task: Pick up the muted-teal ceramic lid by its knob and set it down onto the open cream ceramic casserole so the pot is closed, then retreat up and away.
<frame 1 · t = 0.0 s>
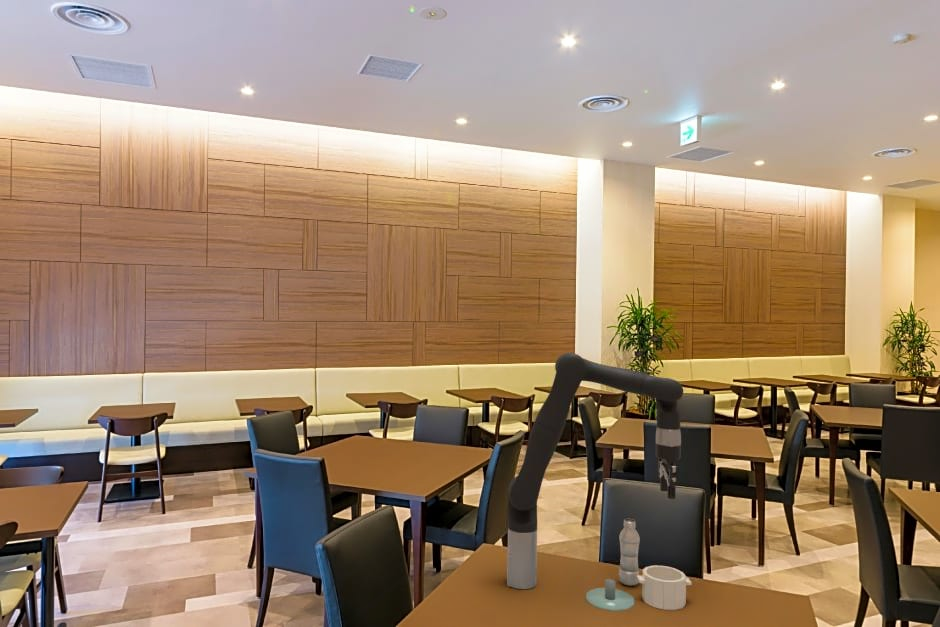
hand: (667, 494, 190), 29 cm above the table, fingers open, 8 cm apart
pot: (663, 600, 182), on the table
lid: (610, 601, 182), on the table
plastic bottle: (628, 584, 193), on the table
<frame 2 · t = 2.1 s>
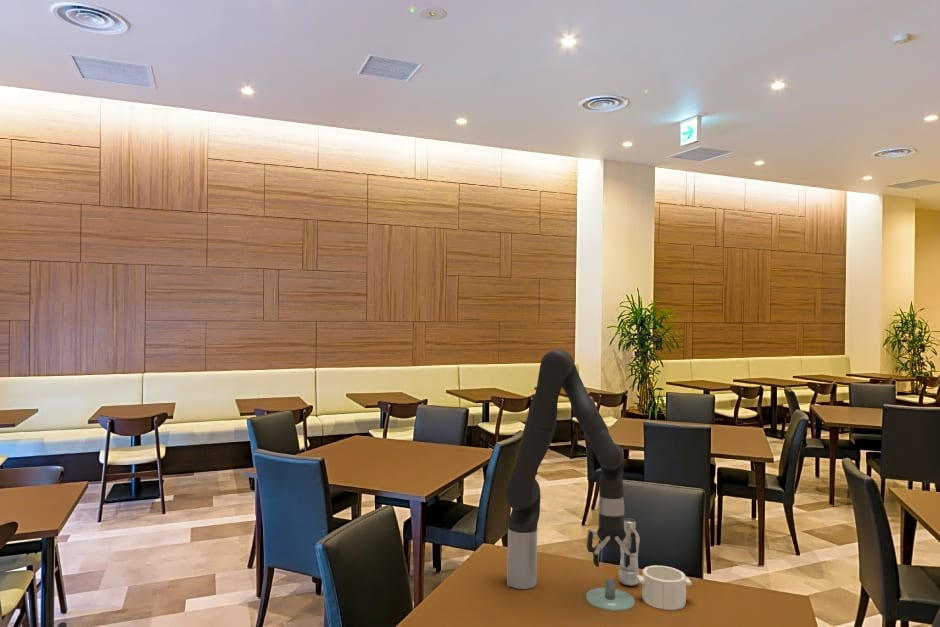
hand: (611, 566, 182), 10 cm above the table, fingers open, 8 cm apart
nothing on the table moved.
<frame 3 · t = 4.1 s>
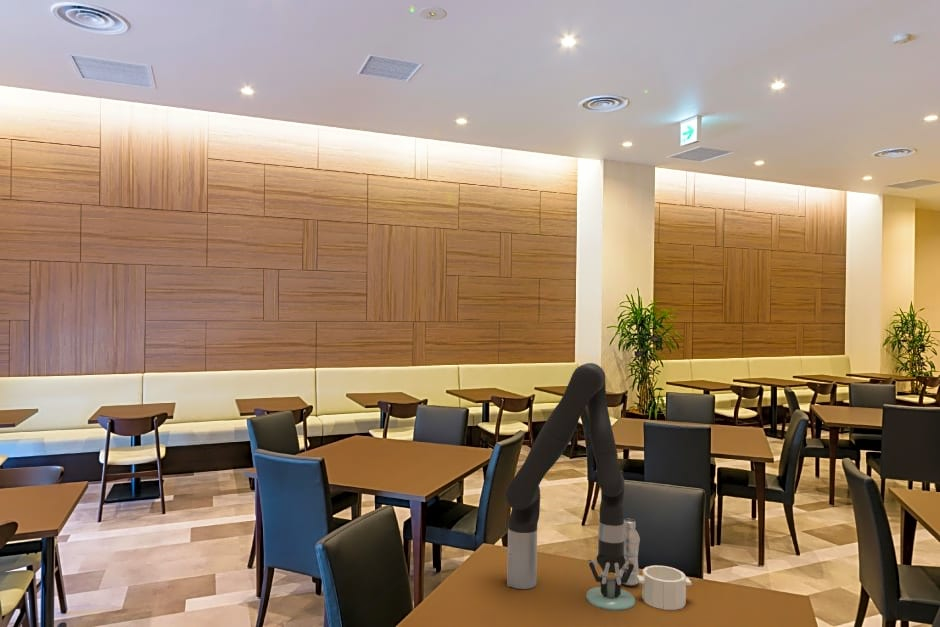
hand: (610, 595, 182), 1 cm above the table, fingers closed on lid, 3 cm apart
lid: (610, 599, 182), on the table, touching gripper
everything else where it was.
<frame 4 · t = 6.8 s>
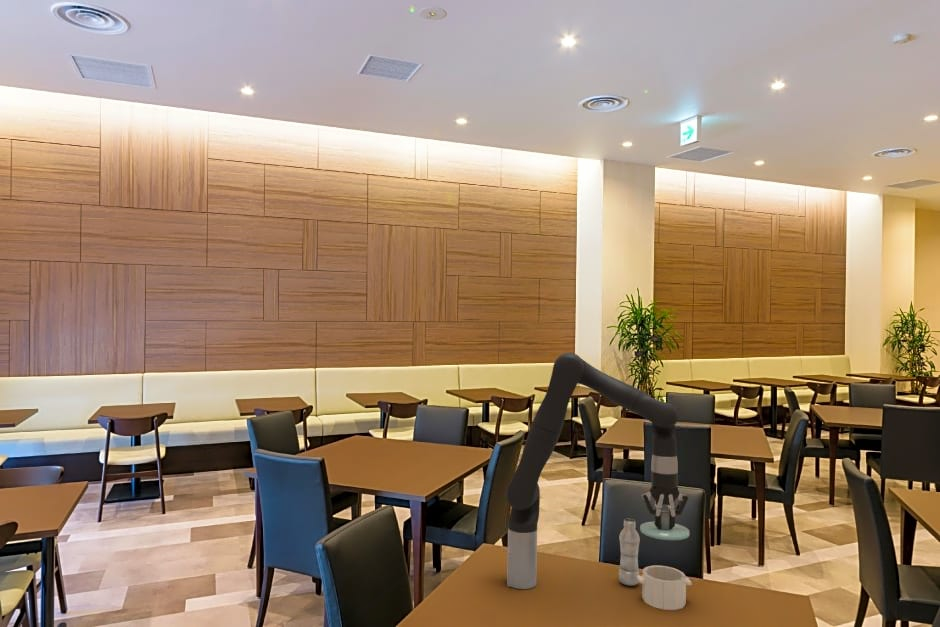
hand: (664, 527, 182), 22 cm above the table, fingers closed on lid, 3 cm apart
lid: (664, 532, 182), point 20 cm above the table, touching gripper
everything else where it was.
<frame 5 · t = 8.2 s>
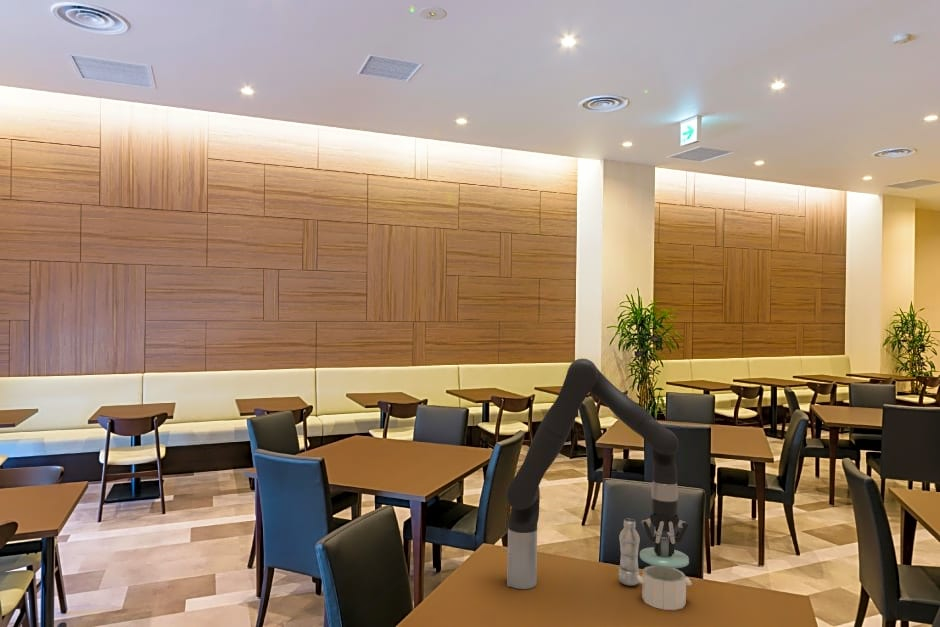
hand: (664, 554, 182), 14 cm above the table, fingers closed on lid, 3 cm apart
lid: (663, 559, 182), point 12 cm above the table, touching gripper
everything else where it was.
when the fingers open (11 cm above the table, at t = 9.5 s): lid drops 1 cm, resting on pot.
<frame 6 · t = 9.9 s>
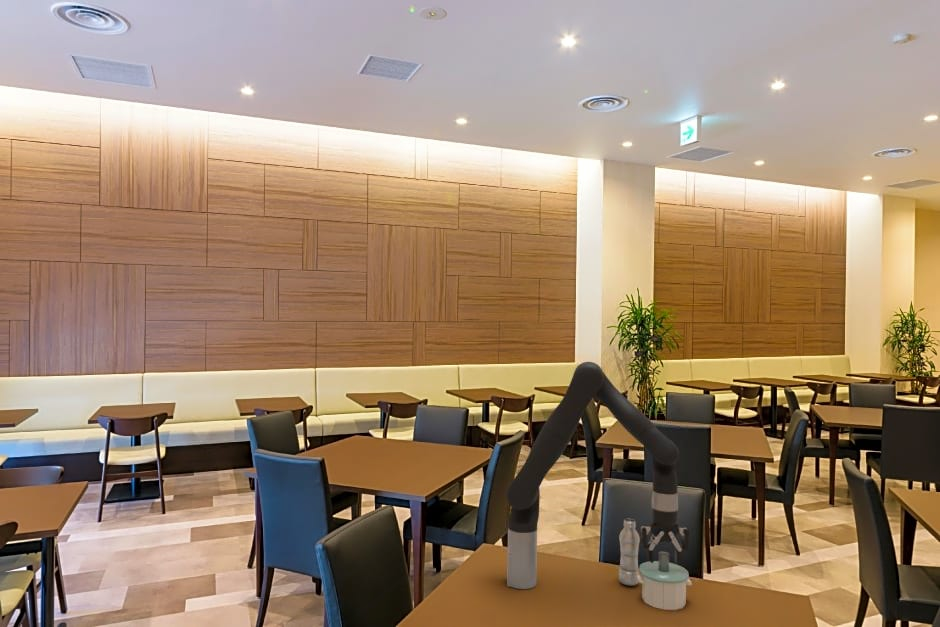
hand: (664, 562, 182), 11 cm above the table, fingers open, 7 cm apart
lid: (663, 573, 182), point 8 cm above the table, touching pot
everything else where it was.
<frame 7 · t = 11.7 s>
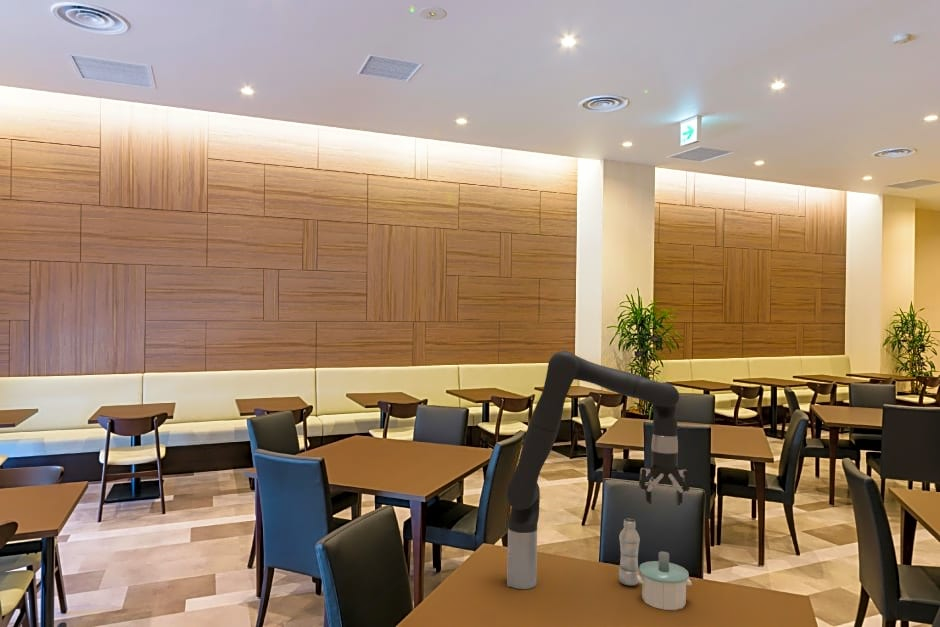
hand: (663, 504, 183), 29 cm above the table, fingers open, 8 cm apart
nothing on the table moved.
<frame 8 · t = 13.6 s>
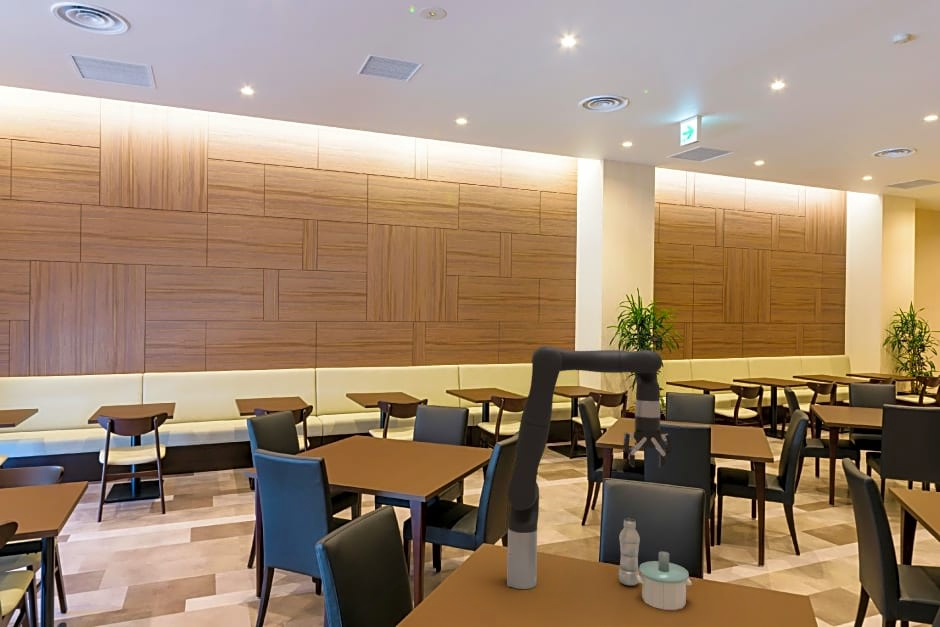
hand: (646, 467, 189), 38 cm above the table, fingers open, 8 cm apart
nothing on the table moved.
at the end: lid 0.1 cm off-centre on the pot, point 8.0 cm above the pot's base; lid tilted 0°; the gripper is holding nothing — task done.
